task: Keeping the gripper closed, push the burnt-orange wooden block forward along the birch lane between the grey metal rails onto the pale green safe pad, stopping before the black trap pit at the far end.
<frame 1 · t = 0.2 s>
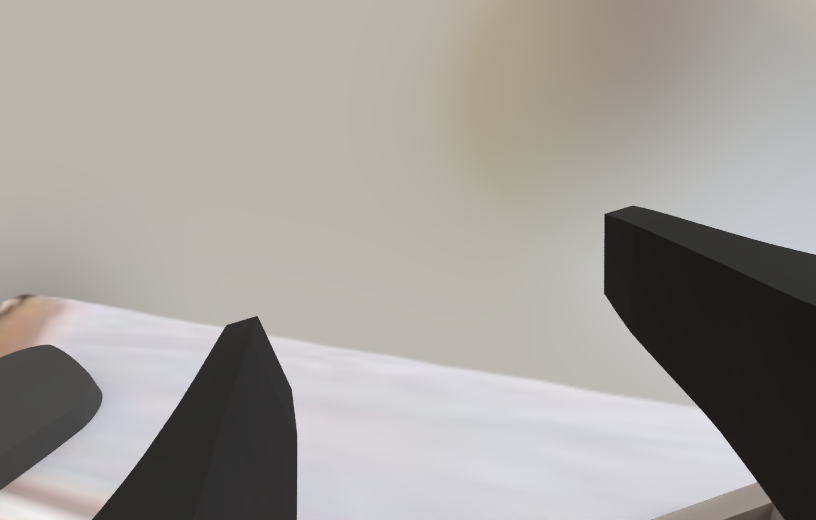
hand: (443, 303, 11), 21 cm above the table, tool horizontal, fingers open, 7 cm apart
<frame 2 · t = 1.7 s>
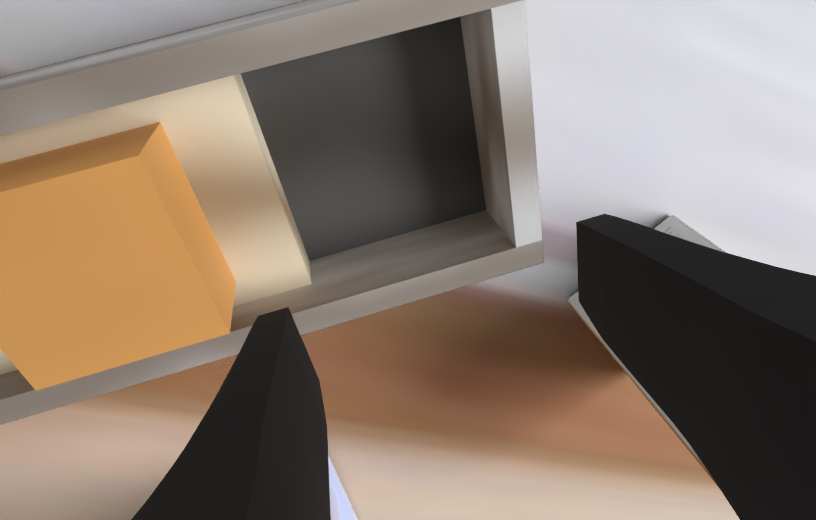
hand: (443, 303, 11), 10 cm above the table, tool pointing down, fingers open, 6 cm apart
trap lane: (12, 239, 18), on the table
orange block: (110, 234, 17), point 2 cm above the table, touching trap lane
small box: (648, 298, 27), on the table
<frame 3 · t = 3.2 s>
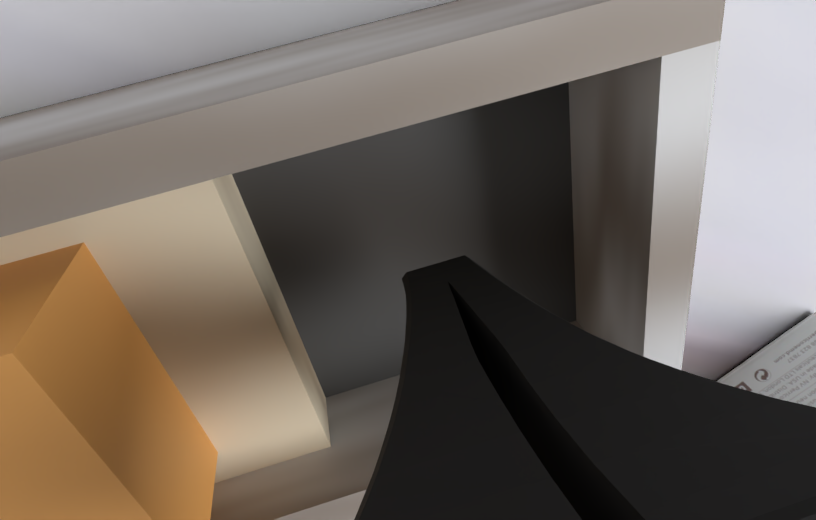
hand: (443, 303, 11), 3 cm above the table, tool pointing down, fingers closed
orange block: (14, 406, 11), point 2 cm above the table, touching trap lane
small box: (765, 407, 21), on the table
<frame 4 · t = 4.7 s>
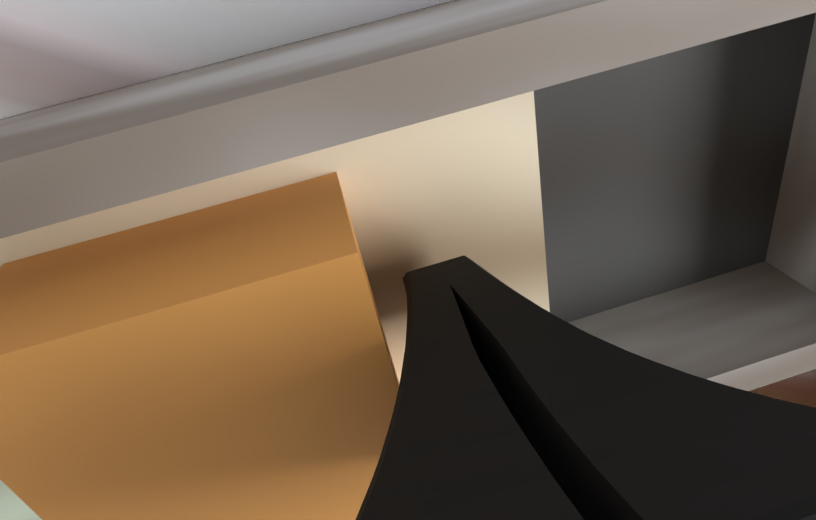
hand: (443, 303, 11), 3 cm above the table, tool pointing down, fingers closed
trap lane: (135, 319, 13), on the table
orange block: (236, 339, 11), point 2 cm above the table
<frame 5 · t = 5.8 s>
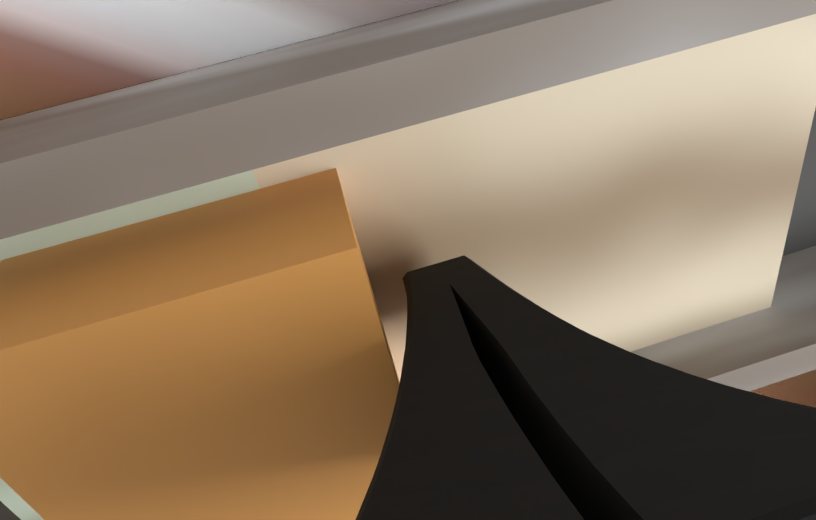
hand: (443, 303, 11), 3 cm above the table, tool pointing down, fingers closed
trap lane: (385, 247, 13), on the table
orange block: (236, 337, 11), point 2 cm above the table
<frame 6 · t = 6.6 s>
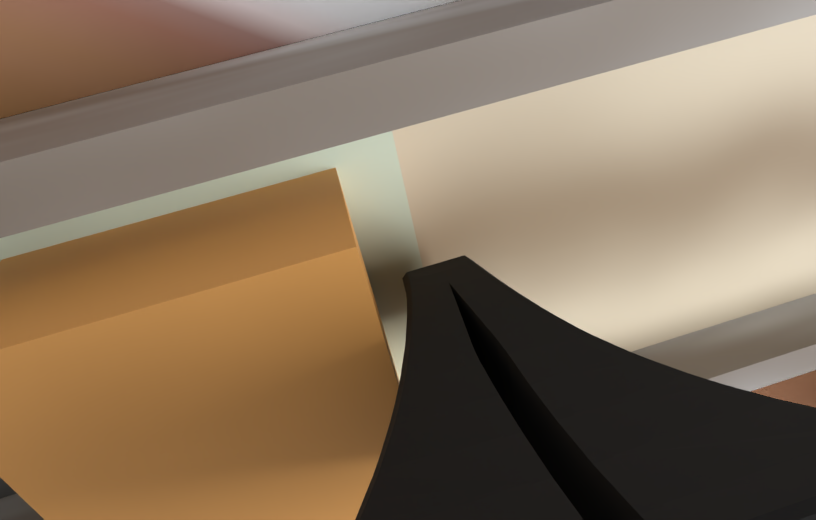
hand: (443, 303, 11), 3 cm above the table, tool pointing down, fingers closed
trap lane: (483, 218, 13), on the table
orange block: (235, 336, 11), point 2 cm above the table, touching gripper, trap lane
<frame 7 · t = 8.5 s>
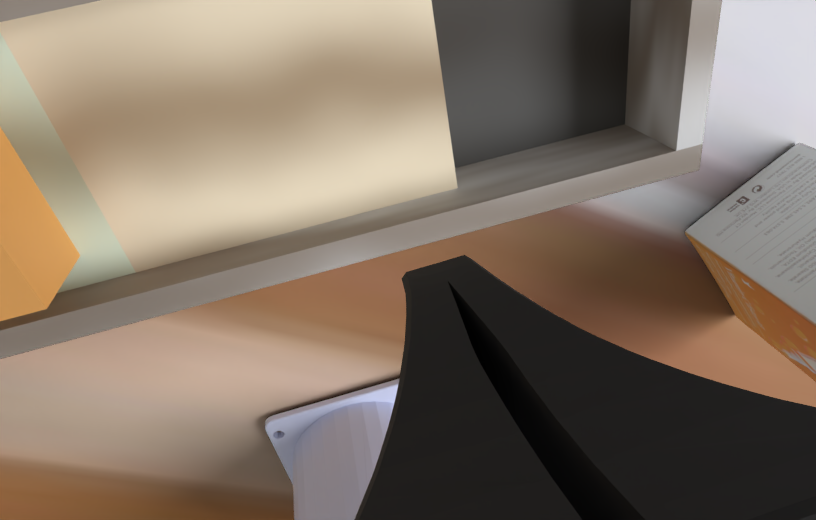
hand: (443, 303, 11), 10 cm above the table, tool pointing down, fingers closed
trap lane: (154, 128, 18), on the table
small box: (759, 236, 26), on the table
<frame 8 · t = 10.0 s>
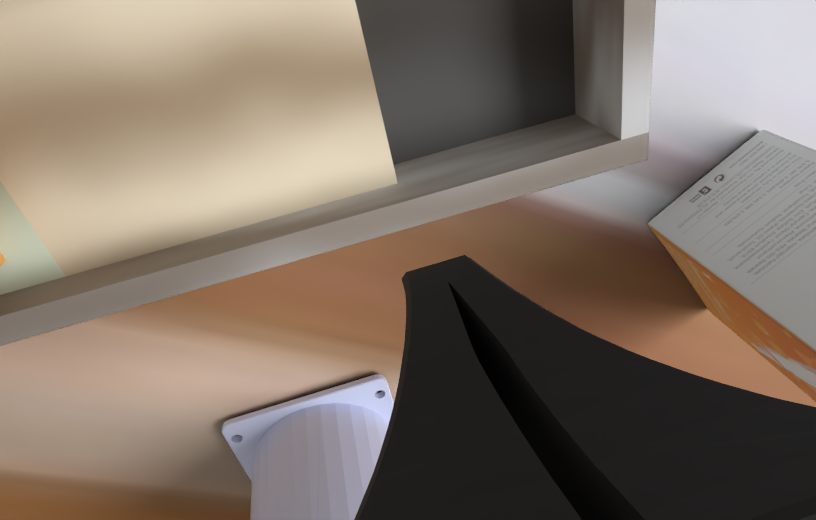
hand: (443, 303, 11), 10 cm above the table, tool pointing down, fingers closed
trap lane: (80, 128, 17), on the table
small box: (727, 227, 26), on the table
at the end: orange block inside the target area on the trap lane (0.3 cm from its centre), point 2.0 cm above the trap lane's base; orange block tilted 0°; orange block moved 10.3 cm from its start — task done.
